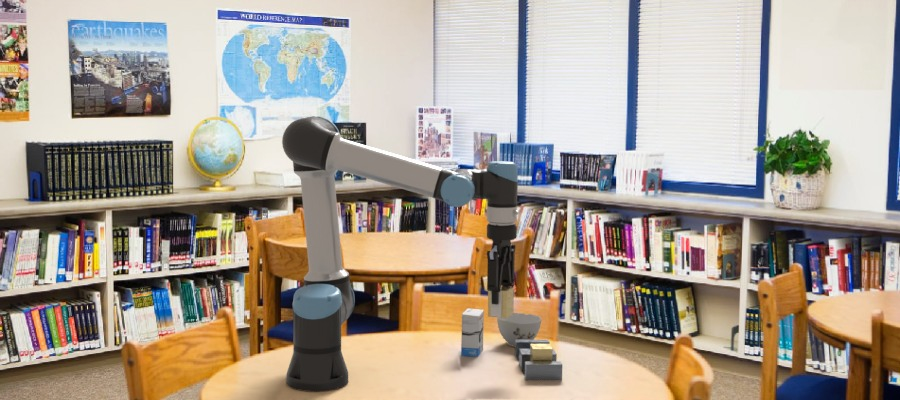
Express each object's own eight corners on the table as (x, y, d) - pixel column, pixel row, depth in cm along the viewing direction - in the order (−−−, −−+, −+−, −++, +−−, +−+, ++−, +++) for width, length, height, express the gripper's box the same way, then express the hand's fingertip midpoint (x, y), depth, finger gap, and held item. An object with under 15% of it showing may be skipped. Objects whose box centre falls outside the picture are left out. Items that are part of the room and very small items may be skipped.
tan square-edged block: (487, 316, 250) (488, 289, 249) (495, 312, 254) (495, 285, 253) (506, 318, 248) (506, 291, 247) (513, 314, 252) (513, 287, 251)
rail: (526, 382, 246) (526, 364, 245) (514, 355, 270) (515, 339, 269) (561, 382, 246) (562, 364, 246) (547, 355, 270) (548, 339, 270)
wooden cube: (532, 376, 250) (532, 348, 249) (529, 370, 254) (530, 343, 254) (551, 376, 250) (552, 348, 249) (548, 370, 255) (549, 343, 254)
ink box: (478, 358, 267) (479, 315, 265) (460, 357, 268) (461, 314, 266) (483, 350, 275) (484, 308, 273) (466, 349, 276) (466, 307, 274)
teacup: (542, 350, 275) (543, 322, 274) (497, 350, 275) (498, 322, 274) (537, 336, 290) (538, 310, 289) (495, 336, 290) (495, 309, 289)
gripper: (502, 228, 239) (500, 323, 241) (528, 219, 255) (527, 308, 258) (473, 226, 242) (472, 319, 244) (501, 217, 258) (500, 305, 261)
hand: (500, 313), depth 251 cm, fingers closed on tan square-edged block, 5 cm apart
